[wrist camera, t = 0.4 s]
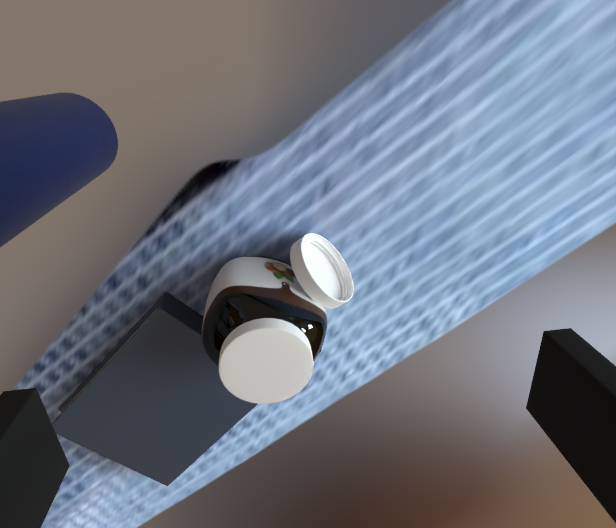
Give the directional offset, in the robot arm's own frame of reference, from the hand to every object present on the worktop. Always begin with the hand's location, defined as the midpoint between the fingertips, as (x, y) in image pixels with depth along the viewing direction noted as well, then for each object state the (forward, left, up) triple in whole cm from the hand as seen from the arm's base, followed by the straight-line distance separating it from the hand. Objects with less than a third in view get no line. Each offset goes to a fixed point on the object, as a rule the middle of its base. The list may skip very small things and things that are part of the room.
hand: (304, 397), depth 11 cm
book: (+22, -13, -27) cm, 37 cm away
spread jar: (+10, 0, -28) cm, 29 cm away
